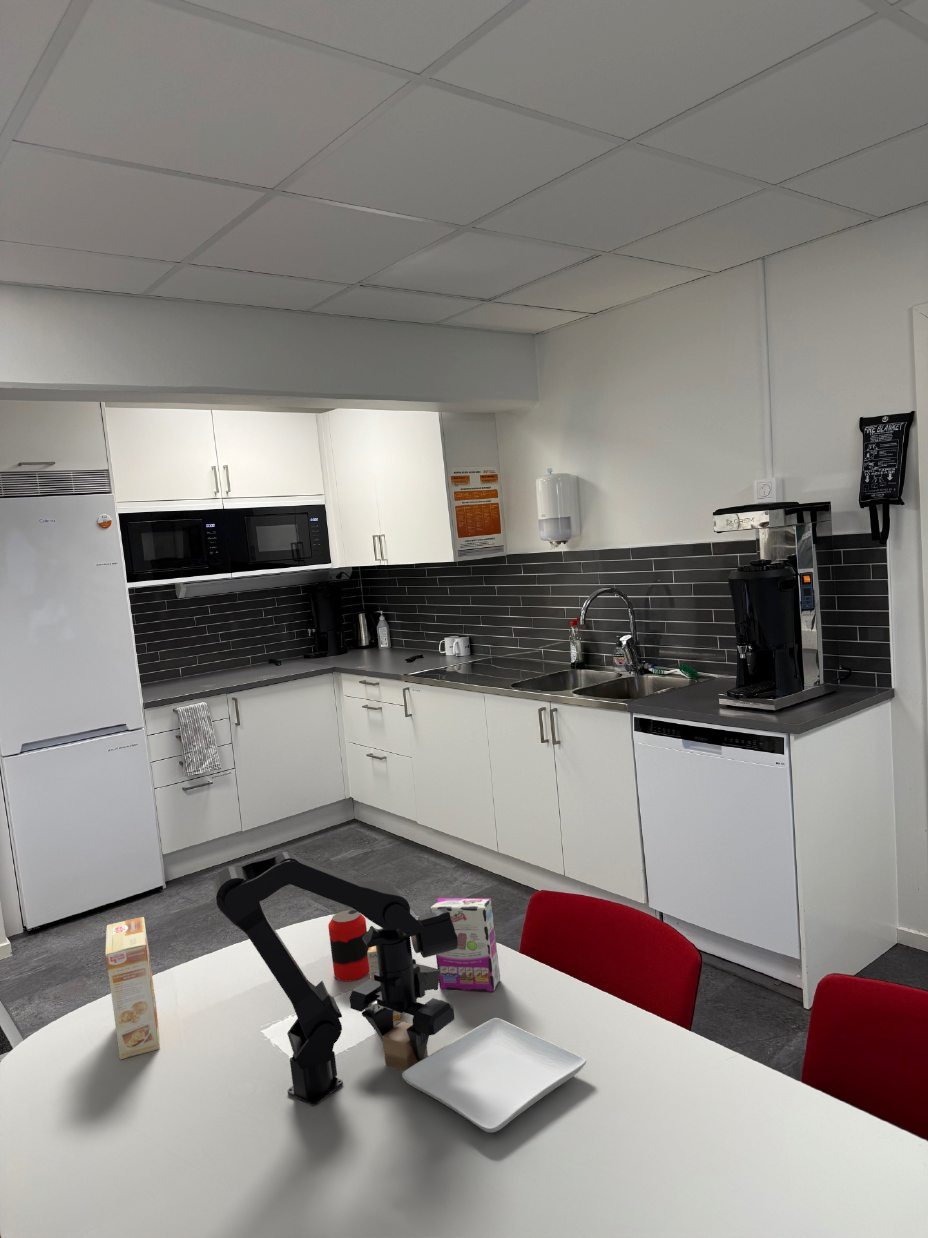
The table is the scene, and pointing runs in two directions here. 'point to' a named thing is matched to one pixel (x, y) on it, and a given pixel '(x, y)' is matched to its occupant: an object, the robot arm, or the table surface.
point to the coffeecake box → (132, 987)
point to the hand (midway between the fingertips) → (406, 1055)
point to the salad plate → (493, 1073)
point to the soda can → (348, 945)
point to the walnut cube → (399, 1048)
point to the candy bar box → (469, 946)
